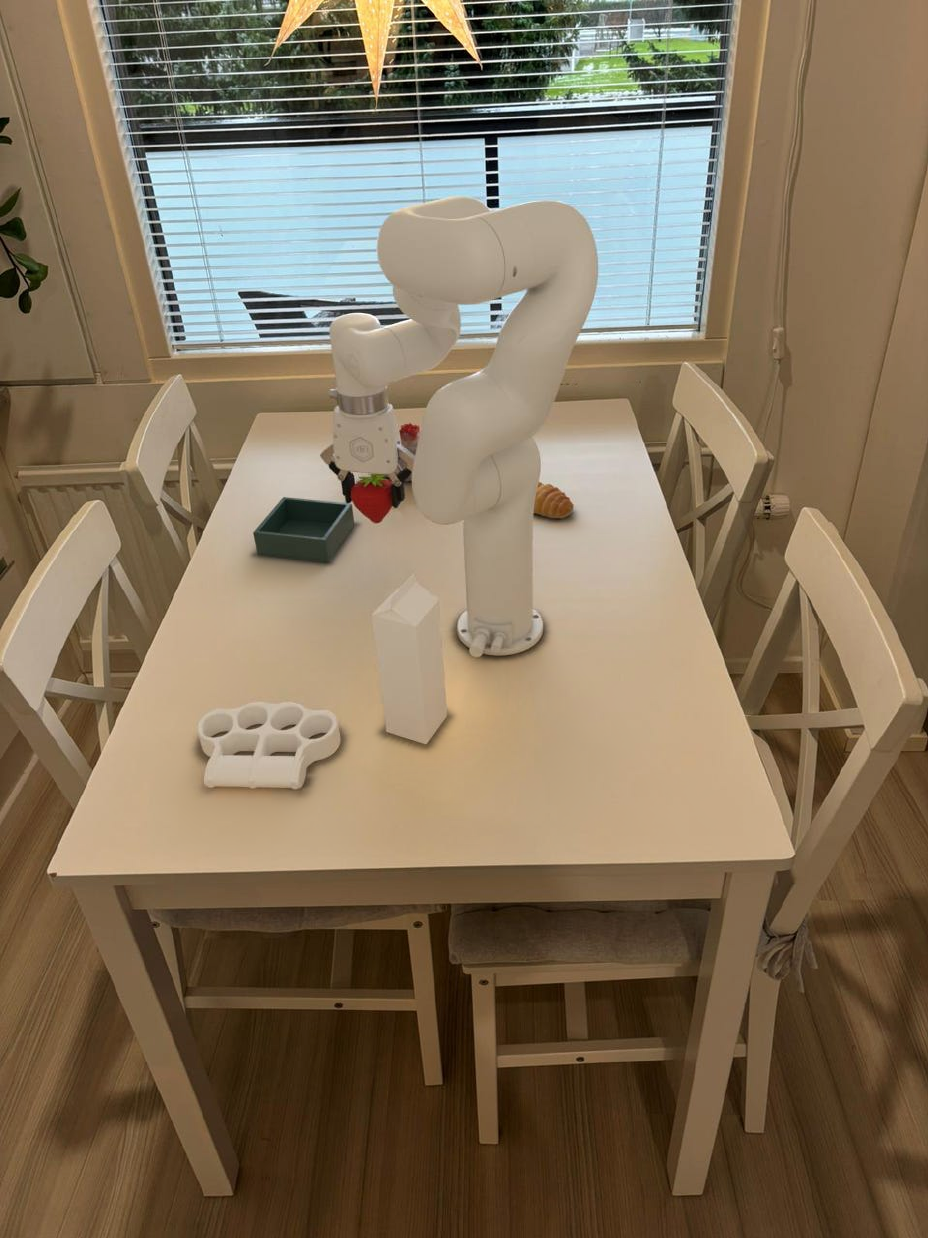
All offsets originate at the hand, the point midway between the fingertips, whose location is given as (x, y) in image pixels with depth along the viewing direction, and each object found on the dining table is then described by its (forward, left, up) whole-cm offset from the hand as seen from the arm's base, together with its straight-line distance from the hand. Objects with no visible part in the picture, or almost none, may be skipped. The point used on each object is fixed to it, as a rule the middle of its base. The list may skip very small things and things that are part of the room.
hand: (374, 500), depth 151 cm
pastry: (+19, -25, -9) cm, 33 cm away
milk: (-40, -19, -9) cm, 45 cm away
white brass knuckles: (-49, -2, -9) cm, 50 cm away
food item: (+27, +3, -9) cm, 29 cm away
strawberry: (0, 0, -4) cm, 4 cm away
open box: (0, +13, -9) cm, 16 cm away
